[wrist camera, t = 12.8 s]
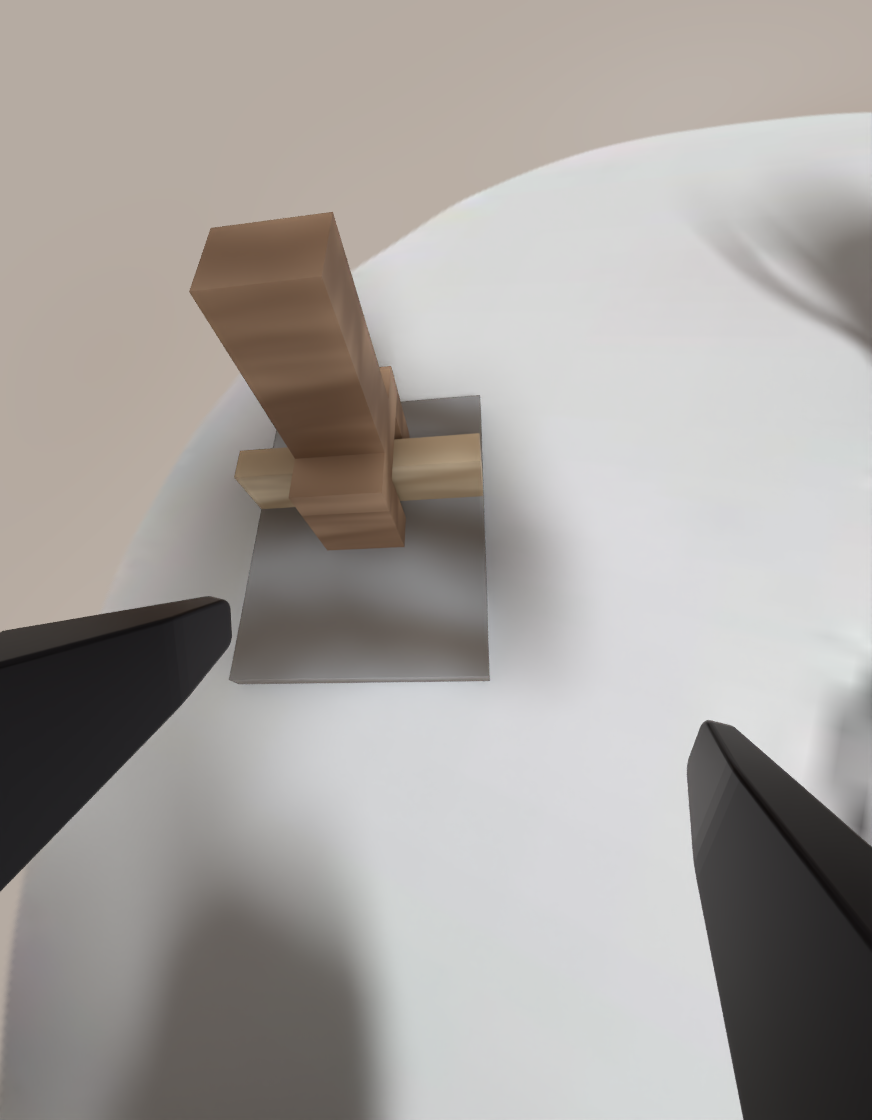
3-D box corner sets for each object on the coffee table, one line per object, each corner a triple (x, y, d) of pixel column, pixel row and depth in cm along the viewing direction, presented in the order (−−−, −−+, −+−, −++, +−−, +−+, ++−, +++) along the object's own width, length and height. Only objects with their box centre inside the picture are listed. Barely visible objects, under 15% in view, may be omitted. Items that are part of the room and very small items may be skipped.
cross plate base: (489, 680, 22) (486, 659, 19) (239, 684, 24) (192, 664, 20) (480, 407, 29) (477, 353, 26) (286, 423, 31) (257, 373, 27)
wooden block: (404, 546, 25) (312, 326, 13) (327, 550, 25) (172, 341, 14) (409, 435, 28) (339, 174, 16) (340, 440, 28) (223, 190, 16)
